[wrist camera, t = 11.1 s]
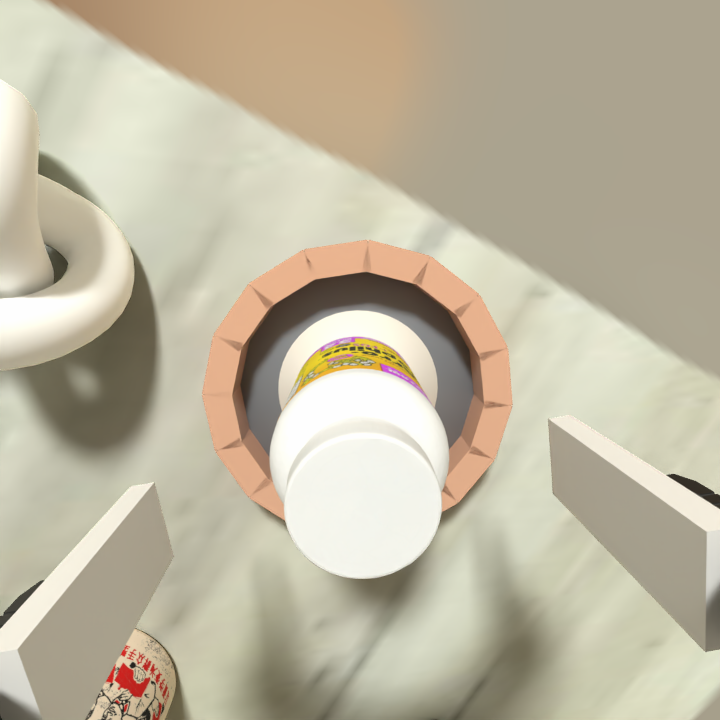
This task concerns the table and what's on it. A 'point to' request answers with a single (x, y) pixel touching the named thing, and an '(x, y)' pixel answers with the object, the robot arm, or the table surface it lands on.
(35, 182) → the white decorative knot
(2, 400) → the table surface
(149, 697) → the teacup with lid
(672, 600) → the robot arm
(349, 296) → the saucer tray
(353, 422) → the supplement bottle
